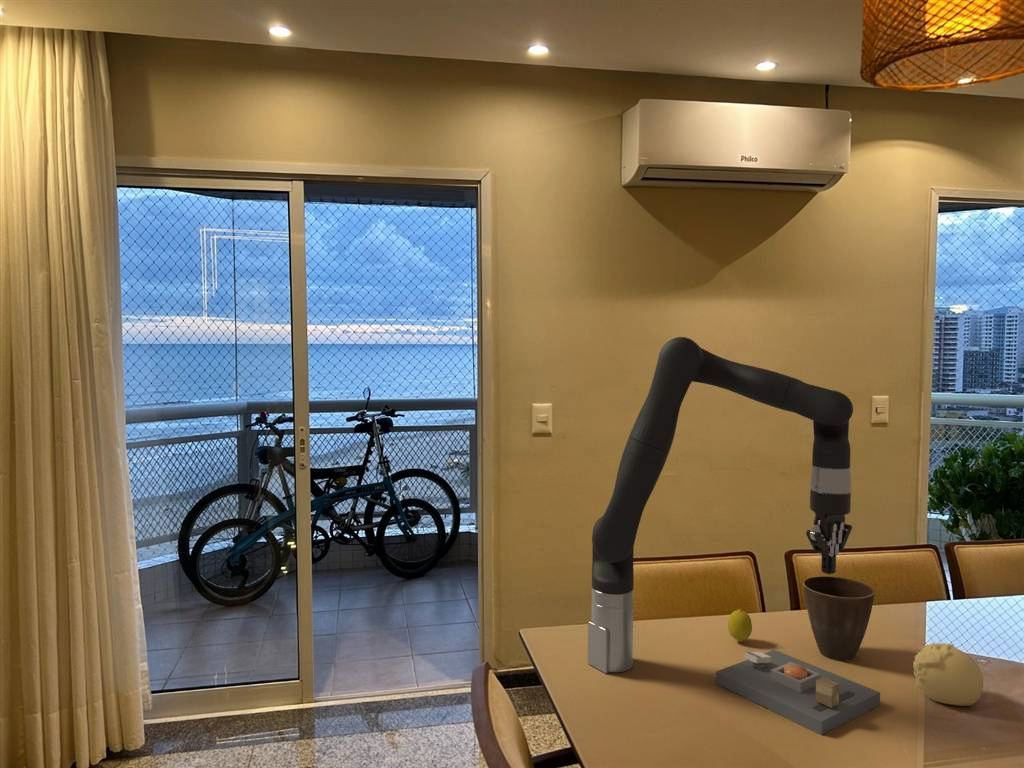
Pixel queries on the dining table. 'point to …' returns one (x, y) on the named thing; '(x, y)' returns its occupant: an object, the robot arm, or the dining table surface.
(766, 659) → the rocker switch
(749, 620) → the lemon
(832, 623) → the plant pot
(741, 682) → the control panel
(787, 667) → the push button
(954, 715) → the dining table surface
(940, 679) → the sculpture
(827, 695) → the slide paddle
